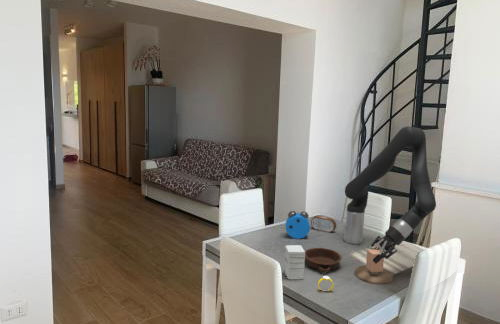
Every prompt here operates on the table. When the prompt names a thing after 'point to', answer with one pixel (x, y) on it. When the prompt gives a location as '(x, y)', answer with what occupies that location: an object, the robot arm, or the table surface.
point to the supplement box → (294, 261)
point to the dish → (322, 259)
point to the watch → (326, 280)
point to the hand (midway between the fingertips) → (371, 259)
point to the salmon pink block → (370, 264)
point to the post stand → (373, 275)
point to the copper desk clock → (323, 223)
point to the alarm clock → (297, 224)
